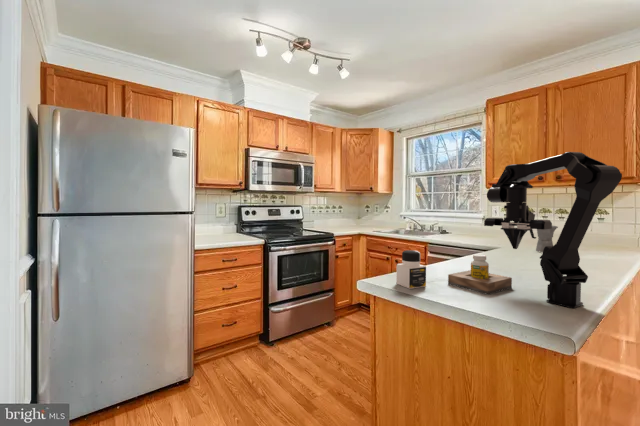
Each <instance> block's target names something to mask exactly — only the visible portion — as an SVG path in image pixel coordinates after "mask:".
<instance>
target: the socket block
mask: <svg viewBox="0 0 640 426" xmlns="http://www.w3.org/2000/svg"><path fill="white" fill-rule="evenodd" d="M447 276H448V277H447V281H448V282H447V283H448V286H449V285H450V286H453V287H457V288H461V289H465V290H468V291H473V292H477V293H480V294H484V295H492V294H495V293H499V292H502V291H507V290H509V289H510V290H511V289H512V286H513V285H512V284H513V283H512V281H513V280H512V279H513V278H512V277H510V276H505V275H500V274H495V273H489V278H487V279H479V278H475V277H471V269H469V270H465V271H464V270H463V271H459V272H453V273H449V274H447Z"/></svg>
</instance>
